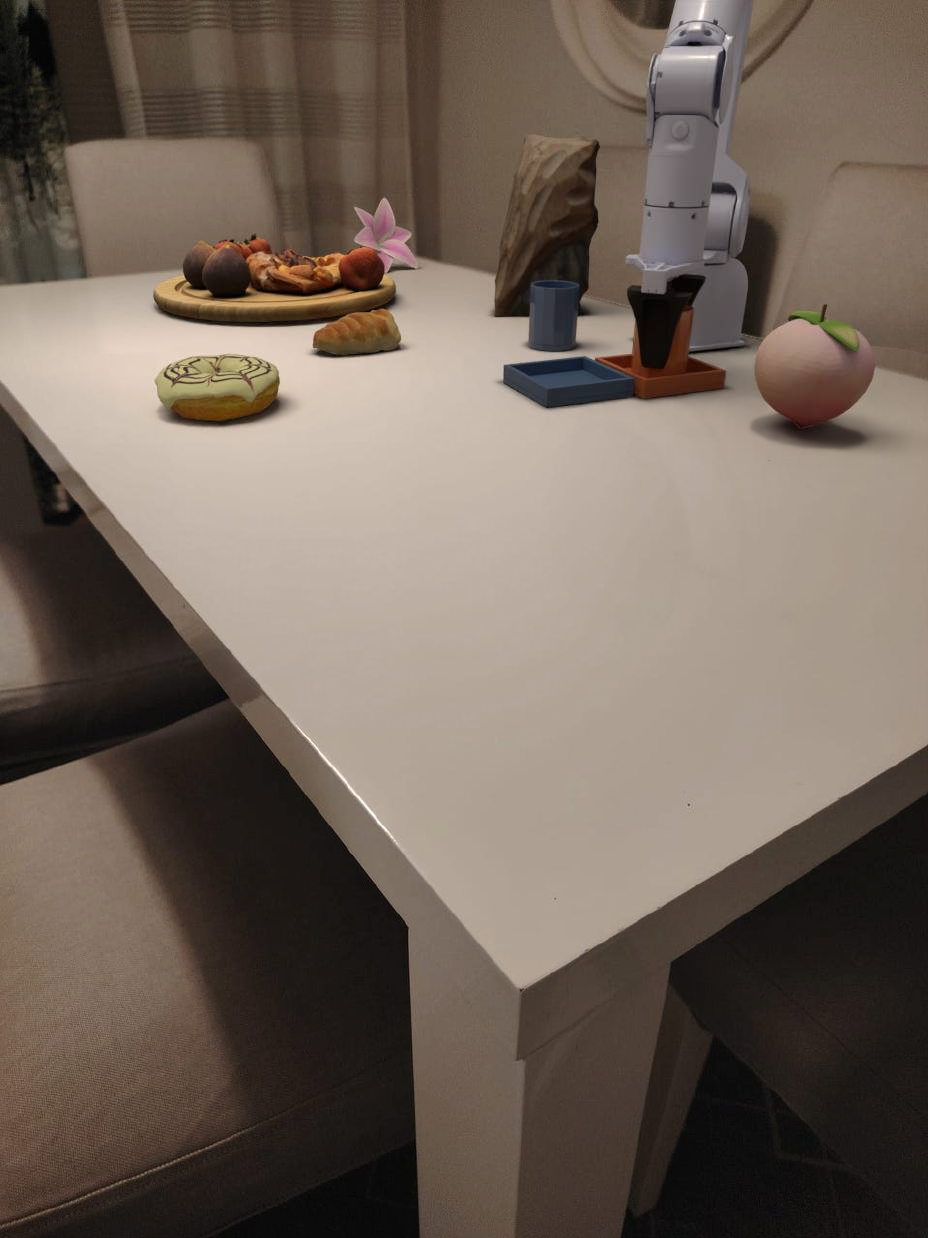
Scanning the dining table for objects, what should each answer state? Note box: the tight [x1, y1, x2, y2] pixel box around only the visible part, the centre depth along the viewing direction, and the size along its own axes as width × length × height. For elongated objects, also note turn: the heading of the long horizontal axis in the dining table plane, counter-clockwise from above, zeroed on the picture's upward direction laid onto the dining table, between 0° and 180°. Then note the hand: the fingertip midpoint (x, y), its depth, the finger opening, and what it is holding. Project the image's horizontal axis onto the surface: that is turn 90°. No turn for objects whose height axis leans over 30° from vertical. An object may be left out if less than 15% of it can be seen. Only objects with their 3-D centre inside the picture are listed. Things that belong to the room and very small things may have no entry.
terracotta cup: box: [631, 305, 694, 379], centre depth 86 cm, size 5×5×6 cm
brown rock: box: [493, 133, 601, 317], centre depth 114 cm, size 13×13×20 cm
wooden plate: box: [152, 233, 397, 323], centre depth 120 cm, size 32×32×8 cm
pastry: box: [312, 308, 402, 356], centre depth 98 cm, size 9×7×4 cm
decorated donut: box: [154, 353, 281, 422], centre depth 79 cm, size 10×11×4 cm
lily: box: [353, 197, 419, 274], centre depth 145 cm, size 12×12×10 cm
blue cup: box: [527, 280, 579, 352], centre depth 99 cm, size 5×5×6 cm
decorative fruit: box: [754, 303, 876, 429], centre depth 73 cm, size 9×8×10 cm
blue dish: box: [502, 355, 634, 408], centre depth 85 cm, size 9×9×2 cm
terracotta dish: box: [594, 353, 727, 399], centre depth 88 cm, size 9×9×2 cm
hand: (659, 359), depth 87 cm, fingers closed on terracotta cup, 5 cm apart
